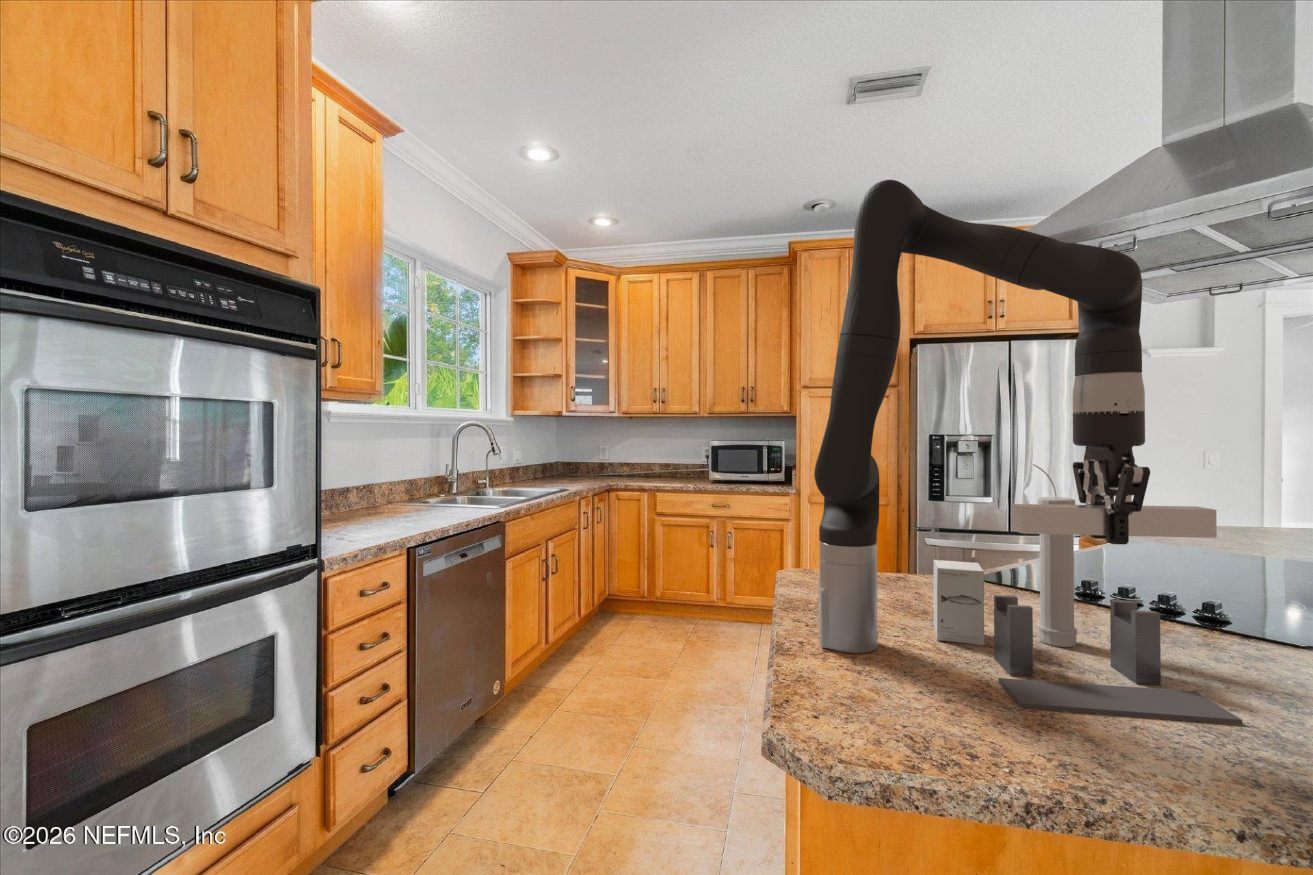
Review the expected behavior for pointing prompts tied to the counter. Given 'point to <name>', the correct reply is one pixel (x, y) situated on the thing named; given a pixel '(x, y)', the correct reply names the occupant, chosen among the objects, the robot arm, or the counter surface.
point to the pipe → (1056, 583)
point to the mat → (1117, 700)
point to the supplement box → (959, 602)
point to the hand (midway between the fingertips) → (1108, 540)
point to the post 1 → (1013, 636)
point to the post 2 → (1135, 642)
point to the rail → (1094, 516)
